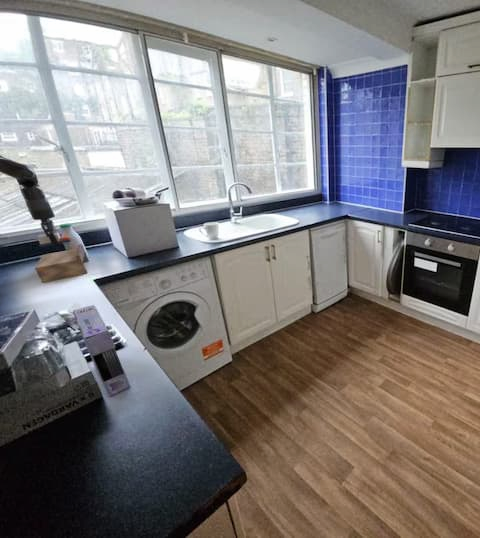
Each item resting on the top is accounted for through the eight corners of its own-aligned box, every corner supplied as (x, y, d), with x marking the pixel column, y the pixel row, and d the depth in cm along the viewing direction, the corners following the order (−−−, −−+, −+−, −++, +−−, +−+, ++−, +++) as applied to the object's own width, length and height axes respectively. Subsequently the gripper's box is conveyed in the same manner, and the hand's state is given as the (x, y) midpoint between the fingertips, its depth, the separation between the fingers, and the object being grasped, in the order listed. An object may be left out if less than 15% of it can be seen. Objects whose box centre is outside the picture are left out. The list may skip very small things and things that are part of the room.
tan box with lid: (42, 283, 136) (32, 264, 132) (49, 268, 153) (40, 251, 149) (87, 273, 145) (79, 255, 141) (89, 260, 162) (82, 244, 158)
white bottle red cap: (40, 246, 141) (35, 237, 139) (41, 244, 144) (37, 235, 142) (70, 241, 147) (66, 232, 145) (71, 239, 150) (67, 230, 148)
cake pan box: (134, 388, 74) (108, 329, 67) (109, 400, 70) (79, 340, 63) (117, 355, 86) (93, 303, 79) (95, 365, 82) (68, 310, 75)
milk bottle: (89, 255, 170) (74, 221, 162) (88, 258, 164) (74, 224, 156) (71, 258, 165) (55, 224, 157) (70, 262, 160) (54, 226, 152)
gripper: (31, 207, 142) (47, 241, 148) (25, 211, 131) (43, 247, 138) (52, 205, 146) (67, 238, 153) (48, 209, 136) (64, 244, 142)
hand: (55, 242), depth 145 cm, fingers closed on white bottle red cap, 4 cm apart
